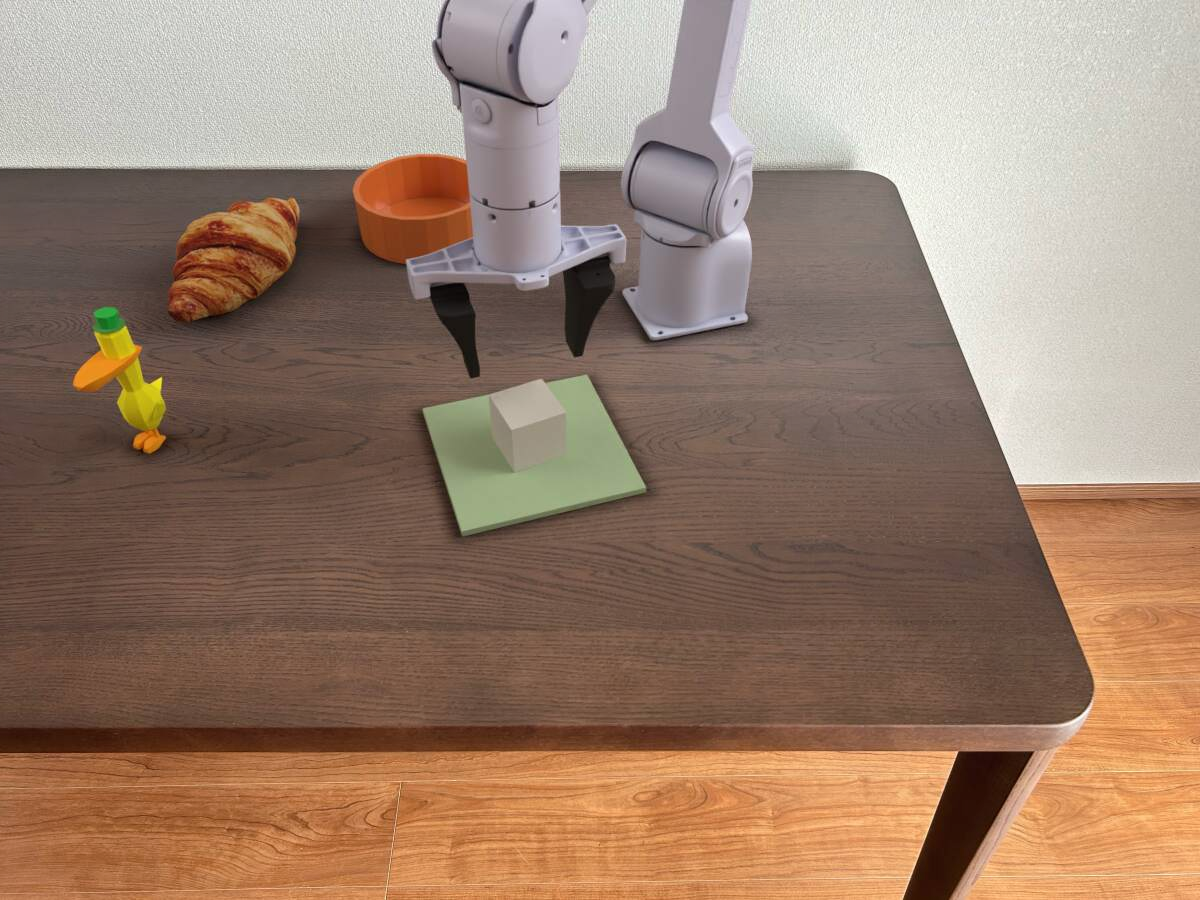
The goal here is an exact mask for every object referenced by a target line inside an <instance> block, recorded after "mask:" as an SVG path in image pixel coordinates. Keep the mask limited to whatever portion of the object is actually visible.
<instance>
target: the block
mask: <svg viewBox="0 0 1200 900" xmlns="http://www.w3.org/2000/svg"><path fill="white" fill-rule="evenodd" d="M545 383H546V382H545V381H544V380H543V378H538V379H536V380H531V381H528V382H525V383H522V384H519V385H516V386H515V385H514V386H512V387H508V388H506V389H503V390H499V391H495V392H492V393H489V394H488V395H489V407H490V418H491V429H492V438H493V439H494V441H495V443H496V444H497V446H498V448H499V449H500V451H501V452H502V454H503V456H504V457H505V459H506V460H507V462H508V464H509V465H510V467H511V468H512V470H513V472H514V473H515V472H518V471H521V470H524V469H527V468H530V467H533V466H536V465H539V464H542V463H545V462H548V461H551V460H554V459H557V458H560V457H563V456H566V455H567V440H566V412H565V410H564V409H563V407H562V406H561V405H560V403H559V402H558V400H557V399H556V398H555V396H554V395H553V394H552V392H551V391H550V389H549V388H548V387H547V385H546V384H545Z"/></svg>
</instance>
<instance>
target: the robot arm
mask: <svg viewBox="0 0 1200 900" xmlns="http://www.w3.org/2000/svg"><path fill="white" fill-rule="evenodd" d="M598 1H599V0H443V3H442V5H441V8H440V11H439V14H438V18H437V22H436V23H437V24H436V36H435V39H433V40H432V41H431V47H432V49H431V50H432V55H433V57H434V61H435V63H436V65H437V67H438V69H439V71H440V72H441V73H442V74H443V76H445V78H446V79H447V81H448V83H449V85H450V89H451V97H452V105H453V106H455V107H456V109H457V110H458V111H459V113H461V117H462V128H463V138H464V150H465V151H464V152H465V160H466V163H467V174H468V185H469V196H470V207H471V218H472V230H473V237H472V238H469V239H467V240H464V241H462V242H459V243H456V244H454V245H451V246H449V247H446V248H443V249H441V250H438V251H436V252H433V253H430V254H427V255H424V256H420V257H416V258H411V259H407V260H406V264H405V265H406V271H407V272H406V273H407V278H408V285H409V287H410V290H411V293H412V296H413V298H414V300H415V301H417V300H423V299H428V298H430V301H431V304H432V307H433V309H434V312H435V314H436V316H437V317H438V319H439V321H440V322H441V324H442V325H443V326H444V327H445V329H446V330H447V331H448V332H449V334H450V335H451V336H452V338H453V339H454V341H455V342H456V343H457V346H458V348H459V349H460V351H461V356H462V359H463V364H464V366H465V369H466V371H467V374H468V377H469V378H470V379H475V378H480V377H481V367H480V361H479V358H478V357H479V356H478V350H477V344H476V341H477V340H476V316H477V314H476V311H475V309H474V306H473V304H472V301H471V297H470V292H469V291H468V288H467V286H469V285H475V284H488V285H489V284H492V285H493V284H494V285H515V287H516V288H517V290H519V291H521V292H528V291H533V290H539V289H545V288H547V287H548V286H549V285H550V277H553V276H555V275H557V274H559V273H562V275H563V285H564V298H565V301H564V302H565V303H564V337H565V343H566V345H567V347H568V349H569V350H570V352H571V354H572V356H573V358H580V357H583V355H584V352H585V347H586V345H587V341H588V338H589V335H590V333H591V330H592V327H593V325H594V322H595V320H596V318H597V316H598V315H599V312H600V310H602V307H603V306H604V304H605V303H606V302H607V300H608V299H609V298H610V296H611V295H612V294H613V293H614V291H615V288H616V275H615V273H614V271H613V269H612V268H611V265H618V264H624V263H626V262H627V261H626V260H627V258H626V257H627V237H626V236H625V234H624V232H623V231H622V229H621V228H620V227H619V225H618V224H617V223H614V224H608V225H607V224H605V225H562V214H561V213H562V211H561V210H562V209H561V208H562V206H561V160H560V159H561V157H560V152H561V151H560V105H559V104H560V103H559V95H560V94H561V93H562V92H563V91H564V89H565V88H567V86H569V84H570V82H571V81H572V78H573V76H574V74H575V71H576V69H577V65H578V61H579V58H580V57H579V56H580V50H581V46H582V43H583V41H584V39H585V37H586V36H587V35H588V29H589V27H590V21H589V19H588V17H587V16H588V15H589V14H590V12H591V11H592V9H593V8H594V7H595V5H596V4H597V2H598ZM752 1H753V0H683V4H682V11H681V17H680V22H679V28H678V33H677V34H678V35H677V40H676V46H675V51H674V57H673V64H672V70H671V76H670V80H669V81H670V82H669V87H668V93H667V99H666V104H665V105H666V106H665V107H663V108H661V109H660V110H658V111H655V112H654V113H652V114H650V115H648V116H647V117H645V118H644V119H643V120H641V121H640V122H639V123H638V124H637V125H636V127H635V132H634V137H633V140H632V143H631V148H630V151H629V153H628V155H627V157H626V159H625V161H624V165H623V168H622V172H621V176H620V177H621V178H620V189H621V194H622V199H623V201H624V204H625V206H627V207H628V208H629V209H632V210H633V211H634V215H633V222H634V223H636V224H638V225H640V227H641V228H640V246H639V267H638V285H637V286H631V287H626V288H623V289H622V297H623V298H624V299H625V301H626V303H627V304H628V306H629V307H630V309H631V311H632V312H633V313H634V316H635V318H636V319H637V320H638V322H639V324H640V325H641V328H643V330H644V332H645V333H646V335H647V337H648V338H649V339H650V340H651V341H661V340H665V339H670V338H675V337H681V336H685V335H691V334H695V333H700V332H705V331H711V330H716V329H720V328H725V327H730V326H735V325H740V324H745V323H747V322H748V320H749V316H748V314H747V313H746V304H747V299H748V298H747V296H748V290H749V283H750V278H751V277H750V276H751V268H752V263H753V249H752V247H753V246H752V239H751V235H750V232H749V228H748V226H747V224H746V222H745V220H744V218H745V216H746V214H747V212H748V209H749V206H750V203H751V200H752V195H753V187H754V185H753V183H754V182H753V169H754V168H753V167H754V161H755V150H756V147H755V145H754V143H753V142H752V141H751V139H750V138H749V137H748V135H747V134H746V133H745V132H744V131H743V129H742V128H741V127H740V126H739V124H738V123H737V122H736V120H734V118H733V117H732V115H731V113H730V109H731V106H732V105H731V104H732V99H733V95H734V90H735V85H736V79H737V74H738V69H739V64H740V61H741V56H742V50H743V46H744V41H745V36H746V31H747V25H748V20H749V16H750V10H751V5H752Z"/></svg>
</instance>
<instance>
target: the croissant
mask: <svg viewBox="0 0 1200 900" xmlns="http://www.w3.org/2000/svg"><path fill="white" fill-rule="evenodd" d="M300 211H301V210H300V206H299V204H298V203H297V201H296V199H295V198H293V197H290V198H288V199H286V200H285V199H281V198H275V197H267V198H265V199H263V200H262V201H261V202H253V201H245V200H243V201H242V200H236V201H235V202H233V203H232V204H231V205H230V206H229V207H228V208H227V210H226V212H224V211H223V212H222V211H219V212H214V213H208V214H206V215H203V216H202V217H200V218H199V219H194V220H193V221H192V222H191V223H190V224H188V225H187V228H186V230H185V231H184V232H183V234H182V235H181V236H180V238H179V240H178V241H177V245H176V250H175V261H176V262H175V264H174V267H173V269H172V276H173V282H172V284H171V286H170V288H169V290H168V292H167V296H166V297H167V298H166V299H167V303H168V304H167V309H166V312H167V315H168V316H169V318H171V319H173V320H174V322H180V323H181V322H182V323H184V322H186V323H189V322H193V321H197V320H199V319H202V318H208V317H209V316H218V315H220V316H221V315H225V314H227V313H231V312H232V311H233V312H234V311H235V310H238V309H239V308H240V307H241V306H242V305H244V304H245V303H247V302H248V301H251V300H253V299H257V297H260V296H261V295H262V294H264V293H265V292H266V291H267V290H268V289H269V288H270V287H271V286H272V285H273V284H274V283H275V282H277V281H278V279H280V278H281V277H282V276H283V275H284V274H285V273H287V272H288V270H289V269H290V267H291V266H292V264H293V262H294V259H295V256H296V251H297V247H296V245H295V243H296V239H297V235H298V226H299V223H300V221H299V220H300V213H301V212H300Z"/></svg>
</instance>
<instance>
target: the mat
mask: <svg viewBox="0 0 1200 900" xmlns="http://www.w3.org/2000/svg"><path fill="white" fill-rule="evenodd" d="M545 384H546V385H547V387H548V388H549V389H550V391H551V392H552V394H553V395H554V396H555V398H556V399H557V400H558V402H559V403H560V405H561V406H562V407H563V409H564V410H565V412H566V440H567V455H566V456H563V457H560V458H557V459H554V460H551V461H548V462H545V463H542V464H539V465H536V466H533V467H530V468H527V469H524V470H521V471H518V472H515V473H514V472H513V470H512V468H511V467H510V465H509V464H508V462H507V460H506V459H505V457H504V456H503V454H502V452H501V451H500V449H499V448H498V446H497V444H496V443H495V441H494V439H493V438H492V429H491V418H490V407H489V394H485V395H480V396H475V397H469V398H466V399H465V398H464V399H461V400H456V401H450V402H445V403H440V404H436V405H432V406H427V407H422V414H423V418H424V420H425V424H426V427H427V430H428V433H429V436H430V440H431V442H432V446H433V449H434V452H435V456H436V458H437V462H438V465H439V468H440V471H441V474H442V477H443V480H444V484H445V487H446V490H447V493H448V496H449V500H450V504H451V506H452V509H453V512H454V515H455V518H456V522H457V525H458V529H459V531H460V535H461V538H462V537H469V536H472V535H476V534H480V533H484V532H487V531H492V530H496V529H499V528H504V527H509V526H513V525H517V524H522V523H525V522H526V523H527V522H529V521H534V520H538V519H543V518H546V517H550V516H554V515H558V514H561V513H562V514H563V513H567V512H571V511H574V510H579V509H585V508H588V507H592V506H596V505H600V504H604V503H608V502H614V501H617V500H621V499H625V498H630V497H633V496H638V495H643V494H645V493H646V492H647V486H646V484H645V483H644V481H643V479H642V477H641V475H640V472H639V471H638V469H637V467H636V466H635V463H634V462H633V460H632V458H631V455H630V454H629V451H628V450H627V448H626V447H625V444H624V442H623V440H622V438H621V436H620V435H619V433H618V431H617V429H616V427H615V425H614V423H613V421H612V419H611V418H610V416H609V414H608V412H607V410H606V407H604V404H603V402H602V400H601V397H600V396H599V395H598V393H597V391H596V389H595V387H594V384H593V383H592V381H591V379H590V377H589V376H588V374H582V375H576V376H572V377H568V378H563V379H558V380H552V381H548V382H545Z"/></svg>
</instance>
